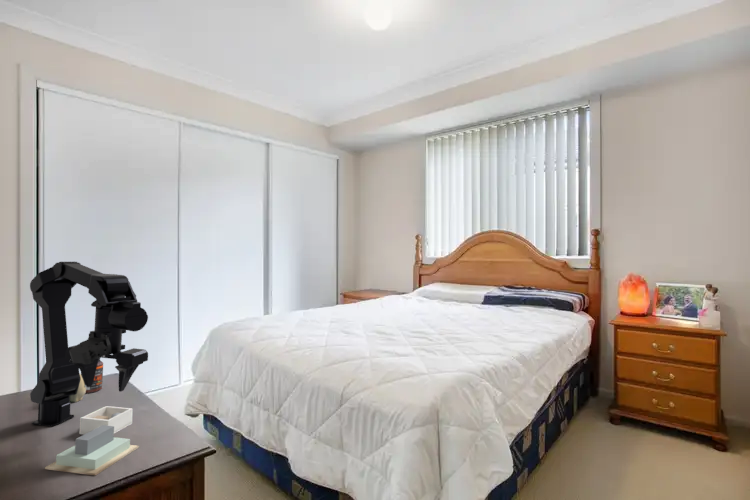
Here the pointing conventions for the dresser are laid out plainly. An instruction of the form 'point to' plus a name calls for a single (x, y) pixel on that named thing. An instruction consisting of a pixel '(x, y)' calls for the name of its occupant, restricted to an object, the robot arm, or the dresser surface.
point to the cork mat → (91, 471)
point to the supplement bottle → (96, 379)
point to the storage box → (106, 419)
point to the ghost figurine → (79, 392)
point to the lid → (93, 449)
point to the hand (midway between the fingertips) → (105, 388)
